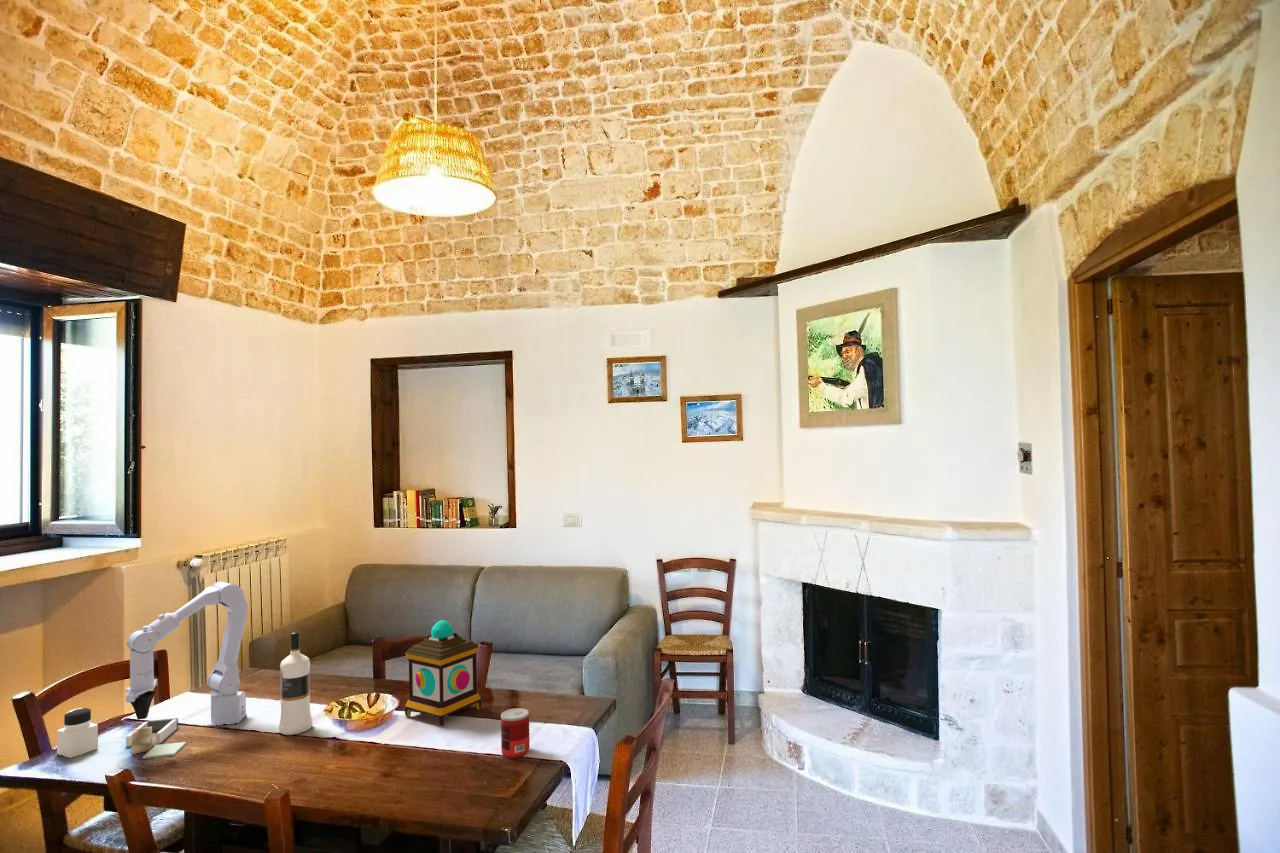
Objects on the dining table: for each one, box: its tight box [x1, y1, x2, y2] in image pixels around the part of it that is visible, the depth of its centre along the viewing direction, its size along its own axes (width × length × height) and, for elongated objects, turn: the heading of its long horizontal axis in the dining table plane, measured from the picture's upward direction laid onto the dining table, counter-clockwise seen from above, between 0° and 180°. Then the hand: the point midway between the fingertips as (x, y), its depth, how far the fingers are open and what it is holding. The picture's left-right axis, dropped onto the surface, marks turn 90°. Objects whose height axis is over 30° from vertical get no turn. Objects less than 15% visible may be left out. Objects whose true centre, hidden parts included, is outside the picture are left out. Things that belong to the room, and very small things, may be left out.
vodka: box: [278, 631, 313, 736], centre depth 216 cm, size 9×9×30 cm
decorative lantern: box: [404, 619, 482, 727], centre depth 227 cm, size 20×20×30 cm
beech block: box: [131, 726, 153, 755], centre depth 204 cm, size 4×4×6 cm
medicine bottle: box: [56, 707, 99, 759], centre depth 204 cm, size 7×7×12 cm
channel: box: [125, 717, 179, 748], centre depth 213 cm, size 9×12×3 cm
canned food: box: [500, 707, 531, 759], centre depth 196 cm, size 8×8×11 cm
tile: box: [142, 741, 187, 760], centre depth 202 cm, size 8×8×1 cm
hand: (142, 718), depth 207 cm, fingers closed
